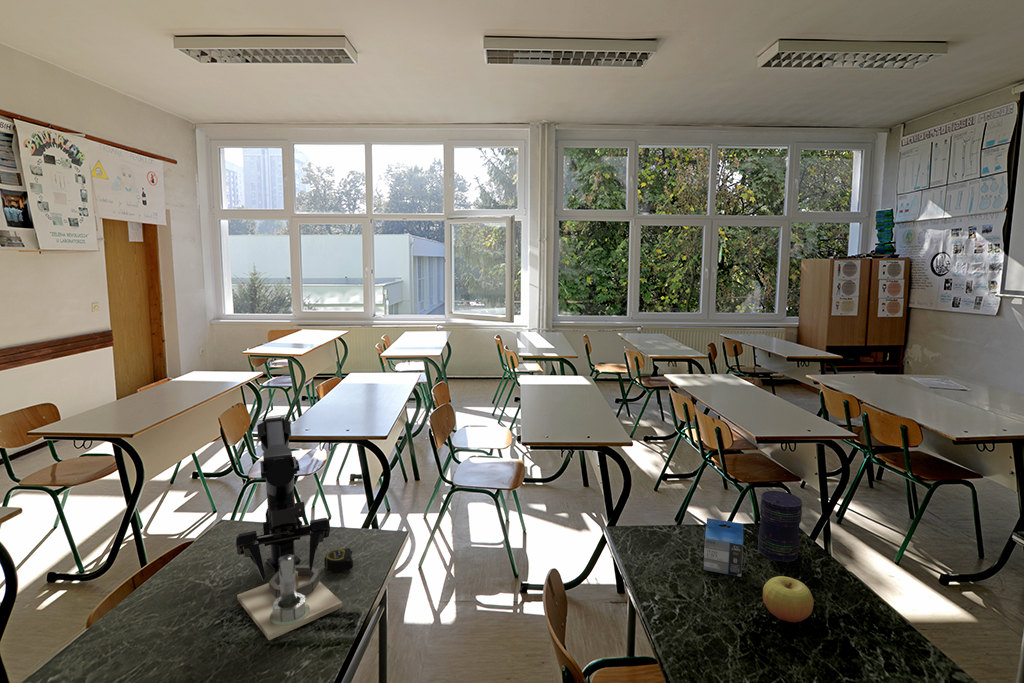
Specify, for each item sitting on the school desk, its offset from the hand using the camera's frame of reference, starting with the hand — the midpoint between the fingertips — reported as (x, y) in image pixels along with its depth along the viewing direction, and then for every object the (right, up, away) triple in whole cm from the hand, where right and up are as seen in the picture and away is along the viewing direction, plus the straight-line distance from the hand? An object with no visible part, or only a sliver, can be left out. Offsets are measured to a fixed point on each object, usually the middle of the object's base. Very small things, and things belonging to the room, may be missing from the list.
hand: (287, 575), depth 118 cm
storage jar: (+118, -7, +30) cm, 122 cm away
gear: (-1, -9, +3) cm, 9 cm away
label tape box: (+100, -8, +22) cm, 102 cm away
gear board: (-3, -10, +8) cm, 13 cm away
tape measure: (+4, -8, +23) cm, 25 cm away
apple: (+107, -11, +4) cm, 108 cm away
